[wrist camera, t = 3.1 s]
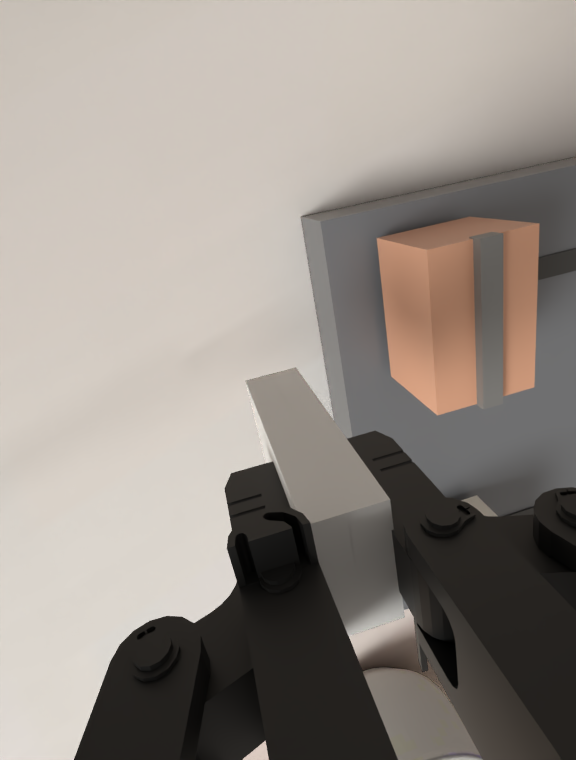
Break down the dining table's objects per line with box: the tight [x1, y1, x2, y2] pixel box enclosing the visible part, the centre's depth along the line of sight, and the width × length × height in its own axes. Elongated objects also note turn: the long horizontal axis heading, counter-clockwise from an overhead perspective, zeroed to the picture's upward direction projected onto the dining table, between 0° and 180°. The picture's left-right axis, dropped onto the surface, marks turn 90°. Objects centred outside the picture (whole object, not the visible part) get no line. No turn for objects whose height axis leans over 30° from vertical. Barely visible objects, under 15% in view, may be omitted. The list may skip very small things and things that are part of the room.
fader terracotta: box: [377, 217, 540, 415], centre depth 18 cm, size 6×4×4 cm, turn 11°
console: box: [301, 157, 576, 610], centre depth 26 cm, size 22×24×3 cm
